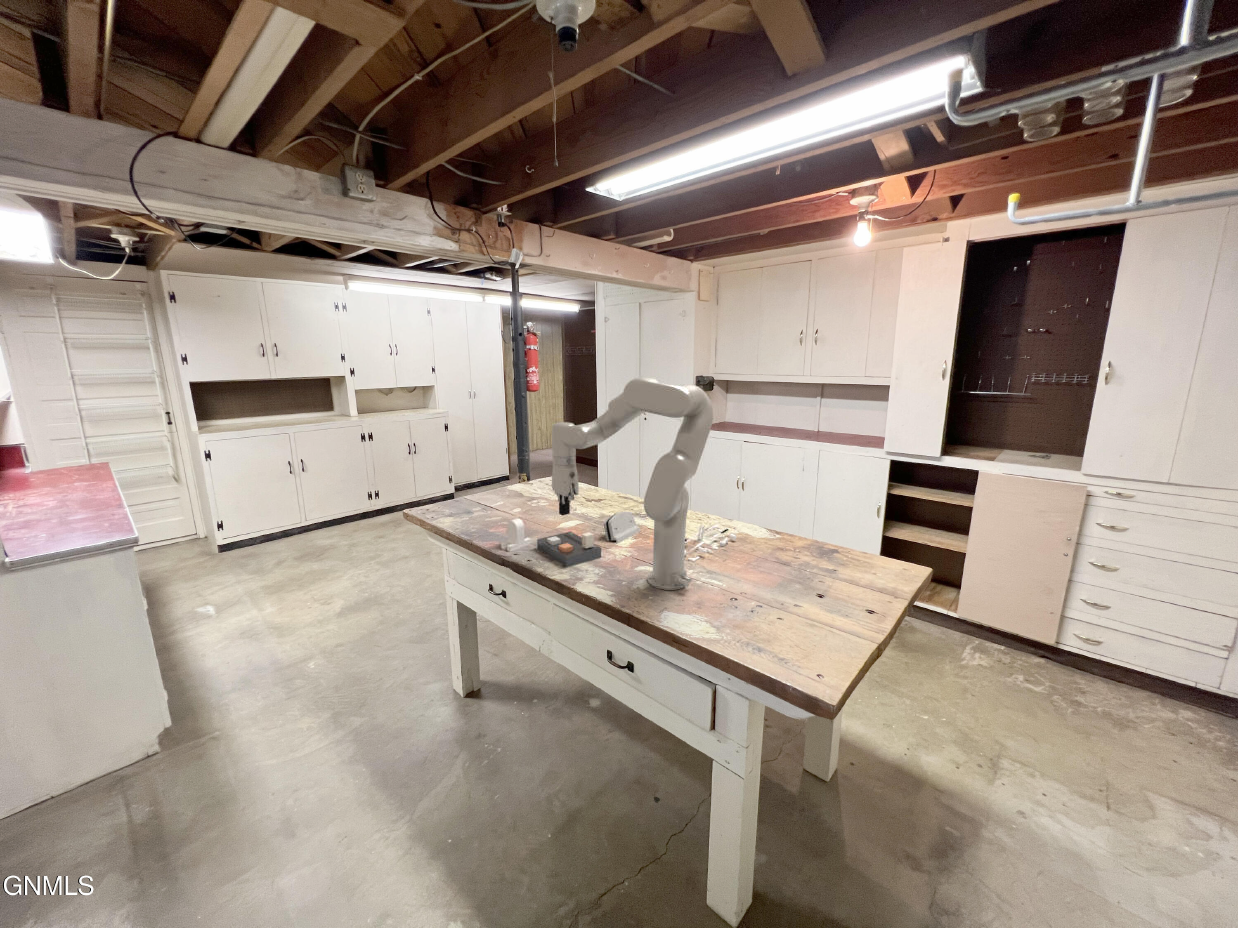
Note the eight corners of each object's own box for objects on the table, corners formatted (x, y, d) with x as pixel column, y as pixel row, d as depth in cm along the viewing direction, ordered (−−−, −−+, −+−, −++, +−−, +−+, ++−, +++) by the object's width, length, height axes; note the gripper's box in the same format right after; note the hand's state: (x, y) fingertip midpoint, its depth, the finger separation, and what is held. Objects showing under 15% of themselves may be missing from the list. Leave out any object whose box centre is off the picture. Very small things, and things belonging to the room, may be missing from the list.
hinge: (617, 543, 176) (609, 517, 176) (607, 545, 179) (600, 519, 179) (640, 530, 189) (634, 506, 189) (631, 532, 192) (624, 508, 192)
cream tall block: (593, 546, 163) (593, 534, 162) (585, 548, 161) (585, 536, 160) (589, 544, 165) (589, 532, 164) (582, 546, 163) (581, 534, 162)
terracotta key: (573, 553, 161) (572, 546, 161) (564, 555, 159) (564, 548, 158) (567, 549, 164) (567, 543, 163) (558, 552, 162) (558, 545, 161)
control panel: (601, 557, 164) (601, 547, 163) (566, 567, 155) (566, 557, 154) (570, 540, 179) (570, 531, 178) (537, 548, 171) (537, 539, 170)
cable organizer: (531, 543, 175) (530, 517, 173) (510, 551, 168) (508, 525, 166) (521, 540, 179) (520, 515, 176) (500, 548, 171) (499, 521, 169)
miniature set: (714, 529, 190) (741, 541, 182) (658, 559, 166) (687, 575, 158) (716, 515, 188) (744, 527, 180) (660, 543, 163) (689, 558, 156)
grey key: (560, 545, 167) (560, 539, 167) (552, 548, 165) (552, 541, 165) (555, 542, 170) (555, 536, 169) (547, 545, 168) (547, 538, 167)
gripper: (586, 463, 151) (586, 518, 155) (562, 455, 163) (562, 506, 167) (566, 466, 147) (566, 522, 151) (542, 457, 158) (543, 510, 162)
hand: (564, 513), depth 159 cm, fingers closed
